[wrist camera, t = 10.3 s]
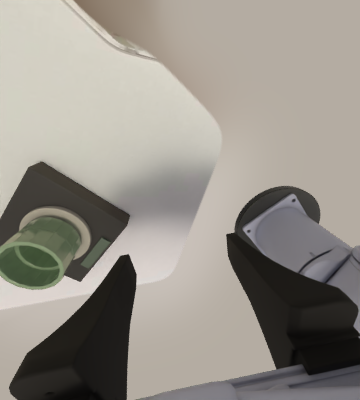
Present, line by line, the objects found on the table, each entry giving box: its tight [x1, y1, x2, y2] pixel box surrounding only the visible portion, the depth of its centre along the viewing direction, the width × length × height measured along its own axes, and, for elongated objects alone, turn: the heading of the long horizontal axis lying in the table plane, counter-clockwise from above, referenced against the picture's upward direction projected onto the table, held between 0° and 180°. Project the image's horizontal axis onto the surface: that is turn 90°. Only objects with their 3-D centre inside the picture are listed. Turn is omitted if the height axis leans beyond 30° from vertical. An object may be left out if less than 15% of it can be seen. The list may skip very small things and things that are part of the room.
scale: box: [0, 162, 130, 282], centre depth 22 cm, size 11×11×3 cm
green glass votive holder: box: [0, 217, 81, 290], centre depth 19 cm, size 6×6×4 cm
